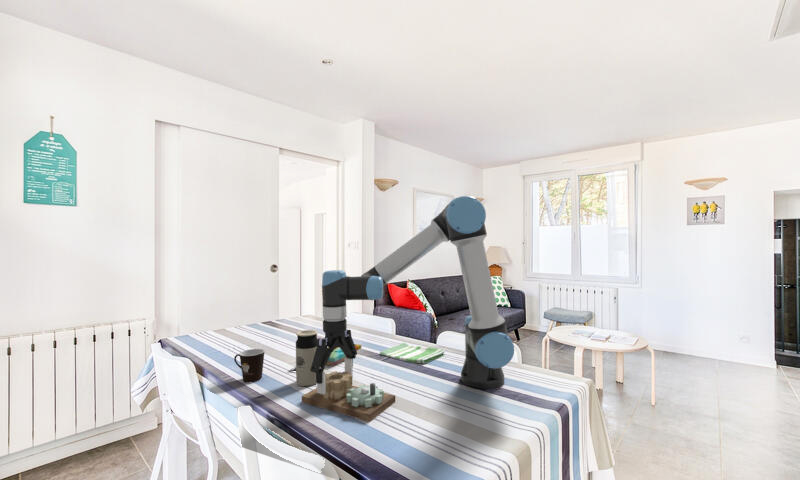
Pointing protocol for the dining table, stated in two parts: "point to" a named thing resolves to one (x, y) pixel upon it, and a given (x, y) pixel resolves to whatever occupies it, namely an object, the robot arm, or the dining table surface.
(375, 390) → the gear
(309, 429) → the dining table surface
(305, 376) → the travel mug
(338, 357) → the puzzle game
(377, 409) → the gear board
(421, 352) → the dish towel
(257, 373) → the coffee mug
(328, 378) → the beech gear
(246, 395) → the dining table surface
